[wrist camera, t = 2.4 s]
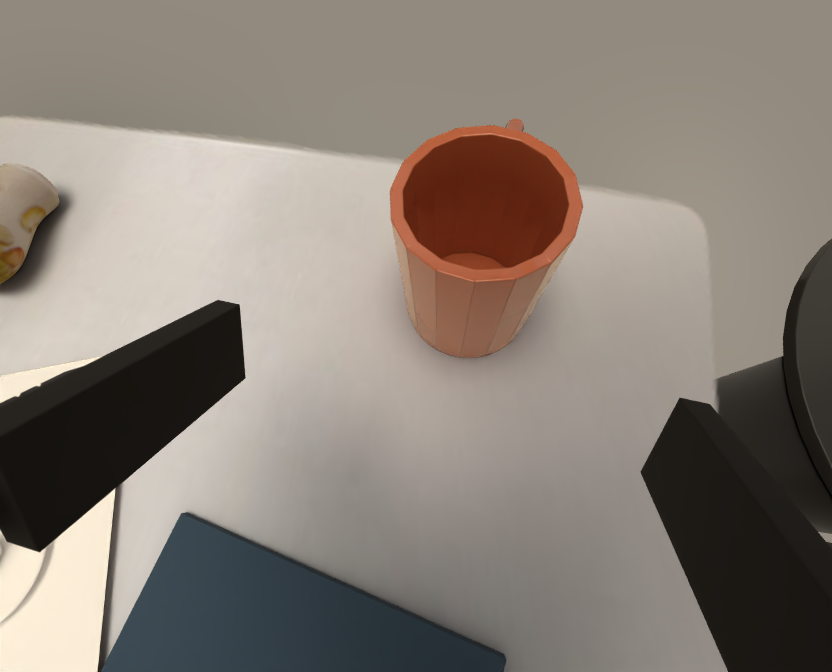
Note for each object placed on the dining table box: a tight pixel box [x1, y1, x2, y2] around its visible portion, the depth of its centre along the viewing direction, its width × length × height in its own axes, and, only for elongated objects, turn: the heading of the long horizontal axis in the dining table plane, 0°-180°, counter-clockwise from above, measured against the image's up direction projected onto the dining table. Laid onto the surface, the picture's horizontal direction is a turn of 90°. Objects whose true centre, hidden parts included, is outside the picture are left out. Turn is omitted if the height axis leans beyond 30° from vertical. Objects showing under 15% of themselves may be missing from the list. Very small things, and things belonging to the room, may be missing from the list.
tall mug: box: [390, 119, 583, 358], centre depth 23 cm, size 11×8×11 cm
